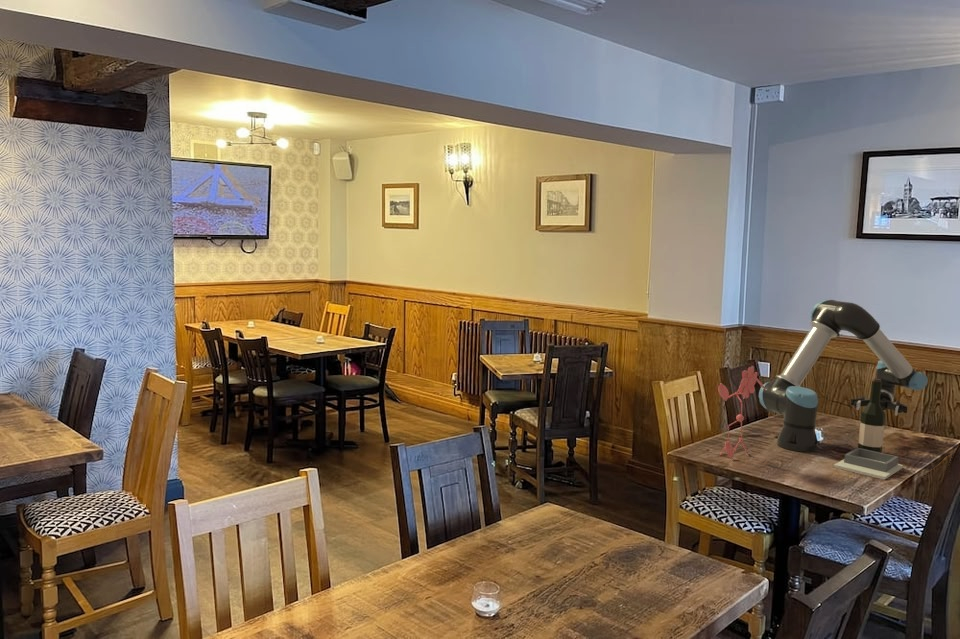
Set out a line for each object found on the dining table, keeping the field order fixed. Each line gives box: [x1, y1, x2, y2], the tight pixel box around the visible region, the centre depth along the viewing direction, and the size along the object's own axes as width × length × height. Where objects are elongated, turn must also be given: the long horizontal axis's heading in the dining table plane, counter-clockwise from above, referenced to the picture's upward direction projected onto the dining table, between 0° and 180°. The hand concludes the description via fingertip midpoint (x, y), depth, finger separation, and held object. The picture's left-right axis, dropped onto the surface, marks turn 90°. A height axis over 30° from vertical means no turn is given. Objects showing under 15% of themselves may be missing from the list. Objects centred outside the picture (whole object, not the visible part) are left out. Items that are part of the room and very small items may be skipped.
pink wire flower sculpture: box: [709, 365, 766, 460], centre depth 265 cm, size 15×26×35 cm, turn 130°
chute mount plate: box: [833, 447, 904, 481], centre depth 261 cm, size 21×17×4 cm
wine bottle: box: [857, 378, 887, 453], centre depth 276 cm, size 8×8×30 cm
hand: (876, 409), depth 284 cm, fingers open, 13 cm apart
